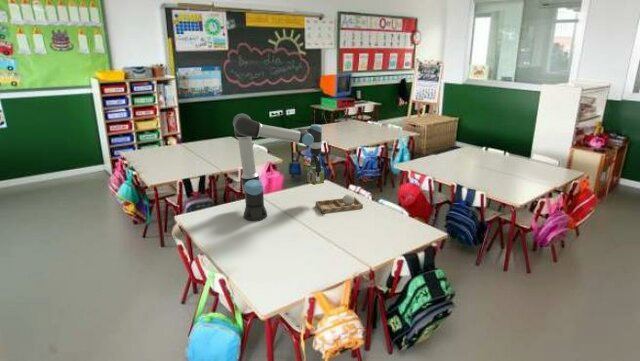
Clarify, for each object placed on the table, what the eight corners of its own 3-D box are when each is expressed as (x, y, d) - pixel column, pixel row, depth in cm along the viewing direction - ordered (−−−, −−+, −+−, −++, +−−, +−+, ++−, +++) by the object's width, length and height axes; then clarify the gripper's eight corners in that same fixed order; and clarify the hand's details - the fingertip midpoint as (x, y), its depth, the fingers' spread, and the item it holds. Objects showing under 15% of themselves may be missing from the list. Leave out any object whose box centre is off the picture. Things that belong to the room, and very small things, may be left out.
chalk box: (313, 185, 280) (313, 164, 275) (306, 181, 287) (306, 161, 282) (324, 183, 285) (324, 162, 280) (317, 179, 292) (317, 159, 287)
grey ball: (345, 208, 277) (345, 197, 275) (341, 203, 285) (341, 193, 282) (356, 206, 280) (356, 195, 277) (351, 202, 287) (352, 191, 284)
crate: (321, 214, 270) (321, 209, 269) (315, 206, 283) (315, 201, 282) (362, 209, 278) (362, 204, 276) (354, 201, 291) (354, 196, 290)
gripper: (326, 151, 268) (325, 183, 276) (316, 143, 289) (316, 173, 296) (315, 152, 266) (314, 184, 273) (306, 143, 287) (306, 173, 294)
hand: (315, 178), depth 285 cm, fingers closed on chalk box, 10 cm apart
